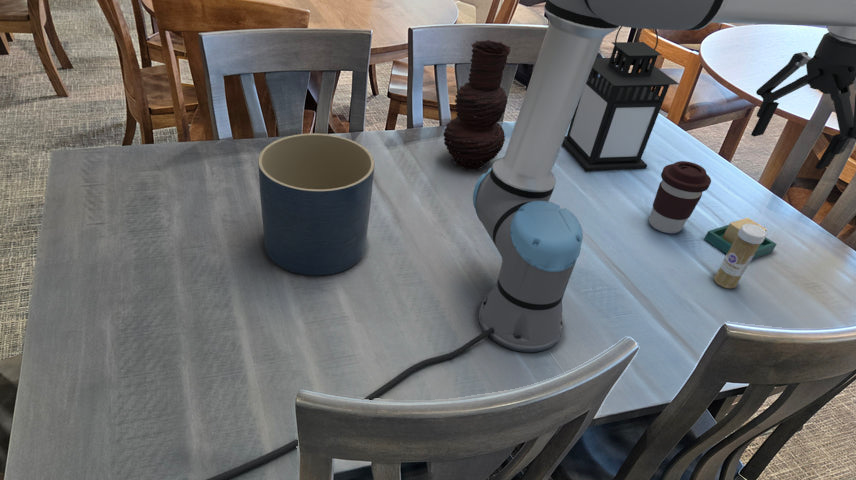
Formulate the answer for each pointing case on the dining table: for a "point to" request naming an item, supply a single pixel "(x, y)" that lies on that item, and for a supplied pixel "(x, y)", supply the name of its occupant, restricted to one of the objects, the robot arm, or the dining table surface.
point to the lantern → (618, 109)
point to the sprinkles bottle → (740, 255)
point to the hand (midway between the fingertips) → (787, 150)
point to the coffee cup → (678, 195)
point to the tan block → (737, 229)
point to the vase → (479, 109)
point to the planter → (315, 202)
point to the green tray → (724, 246)
